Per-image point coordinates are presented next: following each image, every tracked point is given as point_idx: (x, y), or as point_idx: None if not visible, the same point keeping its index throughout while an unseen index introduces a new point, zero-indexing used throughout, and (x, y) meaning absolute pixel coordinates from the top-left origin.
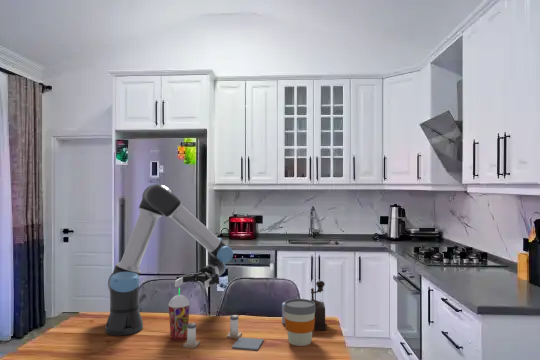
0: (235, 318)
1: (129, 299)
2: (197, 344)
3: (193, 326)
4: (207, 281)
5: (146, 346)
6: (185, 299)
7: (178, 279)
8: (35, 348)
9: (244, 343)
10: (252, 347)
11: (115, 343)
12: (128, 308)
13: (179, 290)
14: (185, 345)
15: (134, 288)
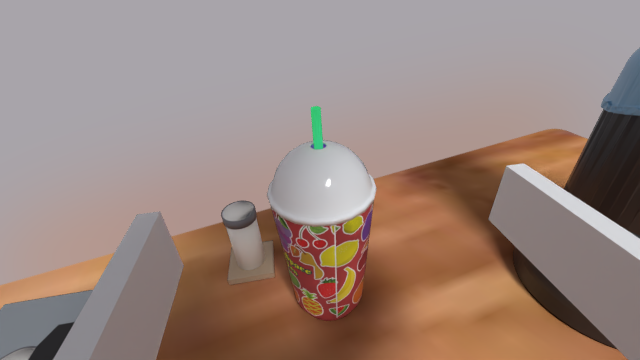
0: (12, 356)
1: (586, 147)
2: (230, 262)
3: (227, 208)
4: (121, 250)
5: (375, 217)
6: (279, 166)
7: (563, 201)
8: (570, 145)
9: (44, 330)
10: (20, 309)
11: (467, 203)
12: (568, 181)
13: (312, 119)
14: (263, 242)
15: (622, 108)
